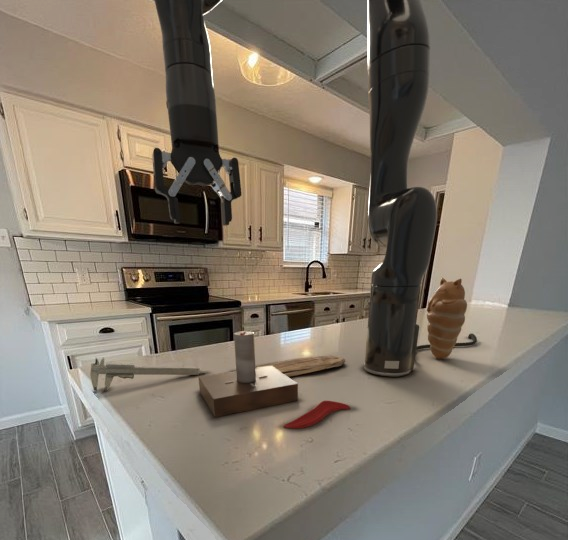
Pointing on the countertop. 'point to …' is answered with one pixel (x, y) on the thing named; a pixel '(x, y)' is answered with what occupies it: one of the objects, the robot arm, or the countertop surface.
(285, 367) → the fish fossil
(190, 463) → the countertop surface
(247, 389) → the rod block
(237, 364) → the rod
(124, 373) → the caliper
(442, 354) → the cat bread figurine
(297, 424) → the cayenne pepper
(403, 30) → the robot arm
